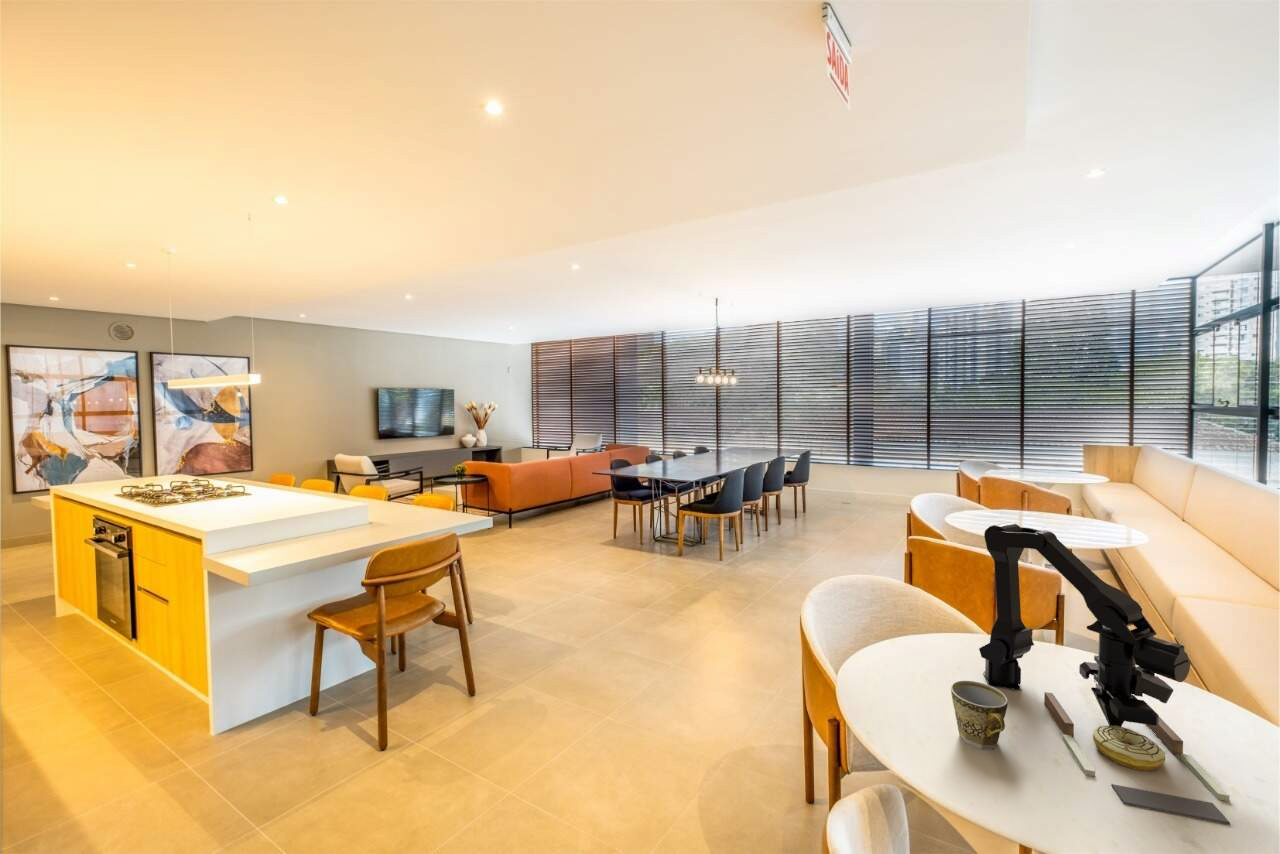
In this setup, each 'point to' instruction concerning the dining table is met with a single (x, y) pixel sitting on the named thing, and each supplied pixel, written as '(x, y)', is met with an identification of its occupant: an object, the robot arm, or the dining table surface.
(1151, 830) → the dining table surface
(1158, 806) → the dark grey rectangular plate
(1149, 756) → the decorated donut
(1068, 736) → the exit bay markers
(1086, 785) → the dining table surface
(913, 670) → the dining table surface
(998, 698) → the ceramic cup
